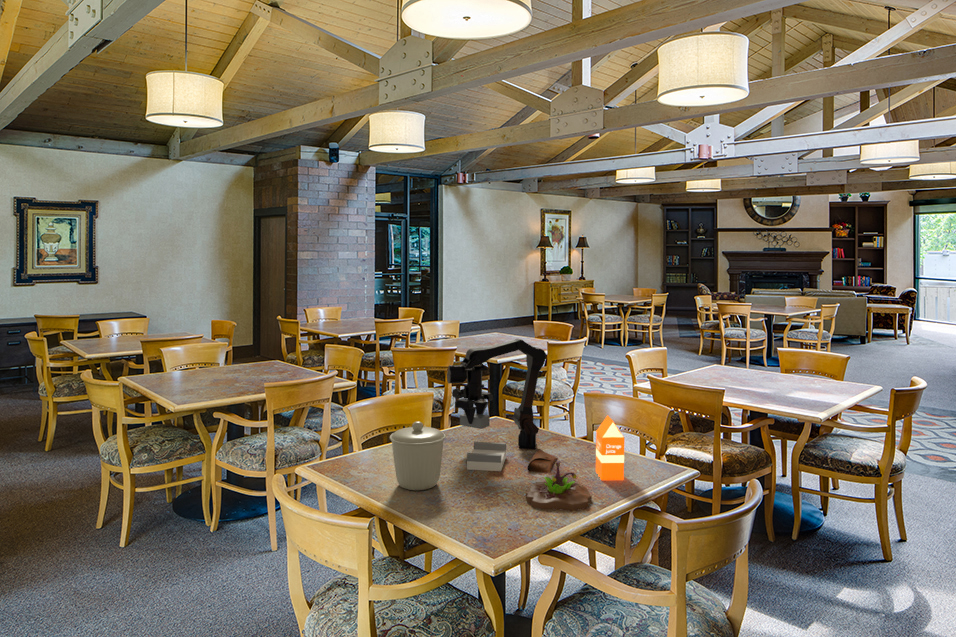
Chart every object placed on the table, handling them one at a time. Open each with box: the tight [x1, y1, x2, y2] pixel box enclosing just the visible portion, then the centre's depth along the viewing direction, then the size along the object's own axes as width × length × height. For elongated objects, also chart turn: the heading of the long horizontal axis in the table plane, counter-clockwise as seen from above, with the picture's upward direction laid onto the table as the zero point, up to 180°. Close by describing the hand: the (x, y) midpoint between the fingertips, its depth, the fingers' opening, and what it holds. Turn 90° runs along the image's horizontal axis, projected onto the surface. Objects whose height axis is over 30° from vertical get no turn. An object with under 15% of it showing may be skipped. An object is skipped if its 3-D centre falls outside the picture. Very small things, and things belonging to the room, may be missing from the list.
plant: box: [525, 461, 593, 511], centre depth 194 cm, size 20×20×11 cm
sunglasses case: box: [527, 448, 558, 474], centre depth 226 cm, size 18×7×7 cm, turn 166°
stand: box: [466, 441, 507, 472], centre depth 228 cm, size 12×16×6 cm
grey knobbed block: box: [459, 410, 491, 430], centre depth 241 cm, size 10×6×5 cm, turn 55°
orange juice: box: [595, 415, 625, 481], centre depth 213 cm, size 8×9×20 cm
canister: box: [389, 420, 447, 491], centre depth 204 cm, size 18×18×21 cm
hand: (474, 422), depth 241 cm, fingers closed on grey knobbed block, 6 cm apart
